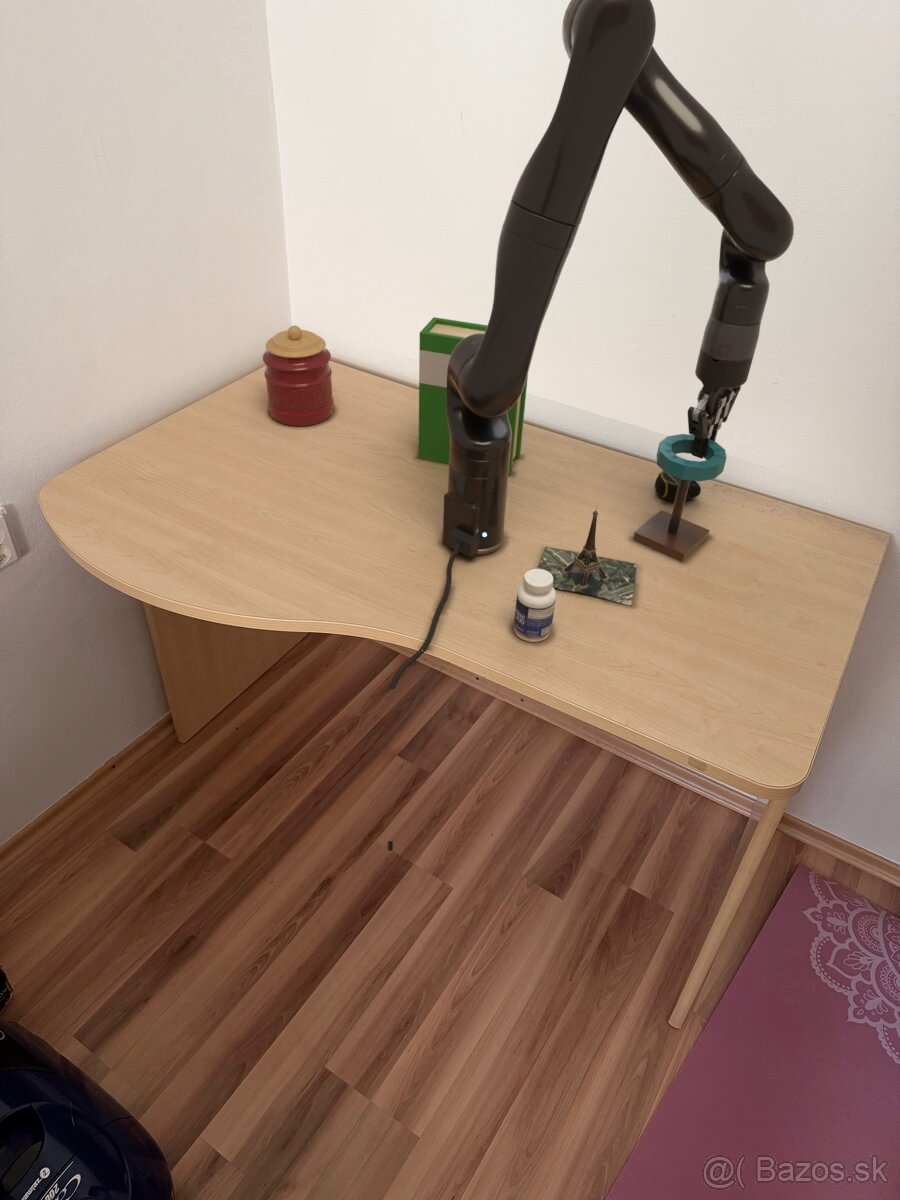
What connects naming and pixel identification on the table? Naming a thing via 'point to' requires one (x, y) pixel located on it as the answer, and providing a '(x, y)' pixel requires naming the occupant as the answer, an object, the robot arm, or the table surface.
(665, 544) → the stand
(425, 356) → the hardback book
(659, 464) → the ring
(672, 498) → the tape measure
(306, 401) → the kitchen canister
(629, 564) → the eiffel tower figurine
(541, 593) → the pill bottle
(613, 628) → the table surface
